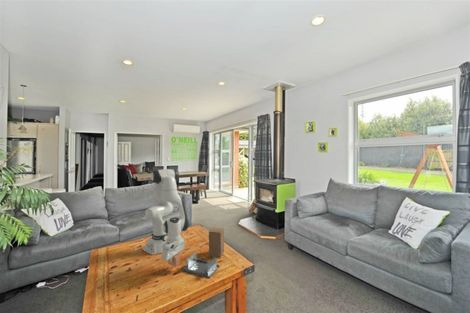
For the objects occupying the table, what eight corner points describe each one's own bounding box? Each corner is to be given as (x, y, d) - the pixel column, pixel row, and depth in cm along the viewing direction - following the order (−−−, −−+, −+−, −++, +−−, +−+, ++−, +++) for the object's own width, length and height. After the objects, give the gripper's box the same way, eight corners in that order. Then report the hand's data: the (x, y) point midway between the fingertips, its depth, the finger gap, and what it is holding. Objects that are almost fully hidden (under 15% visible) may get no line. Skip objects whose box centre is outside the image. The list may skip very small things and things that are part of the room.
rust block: (176, 266, 142) (176, 258, 141) (168, 263, 144) (168, 255, 144) (179, 263, 145) (180, 255, 145) (172, 261, 148) (172, 252, 148)
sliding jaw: (186, 268, 144) (186, 259, 144) (195, 260, 154) (195, 252, 154) (188, 268, 143) (188, 260, 143) (197, 260, 153) (197, 253, 153)
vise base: (182, 270, 144) (182, 260, 143) (194, 260, 156) (193, 251, 156) (209, 278, 135) (209, 266, 135) (219, 267, 148) (219, 256, 148)
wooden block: (220, 257, 161) (220, 232, 160) (208, 256, 163) (208, 231, 162) (224, 251, 171) (223, 227, 170) (212, 250, 173) (212, 227, 172)
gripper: (180, 234, 155) (180, 252, 155) (160, 246, 136) (160, 266, 137) (187, 236, 152) (187, 254, 153) (167, 248, 134) (167, 269, 134)
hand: (174, 260), depth 145 cm, fingers closed on rust block, 4 cm apart
